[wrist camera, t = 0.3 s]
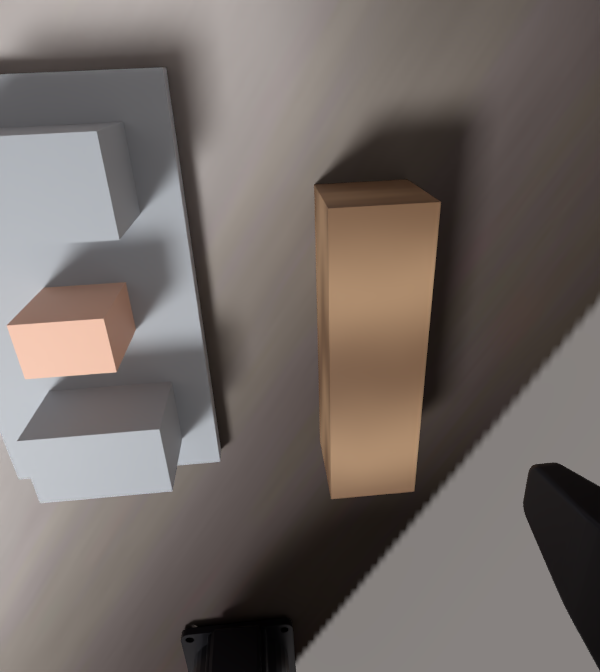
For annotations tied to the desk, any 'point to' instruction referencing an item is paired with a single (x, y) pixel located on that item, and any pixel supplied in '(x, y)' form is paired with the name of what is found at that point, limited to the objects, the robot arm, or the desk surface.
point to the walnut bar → (373, 330)
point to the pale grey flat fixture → (98, 288)
